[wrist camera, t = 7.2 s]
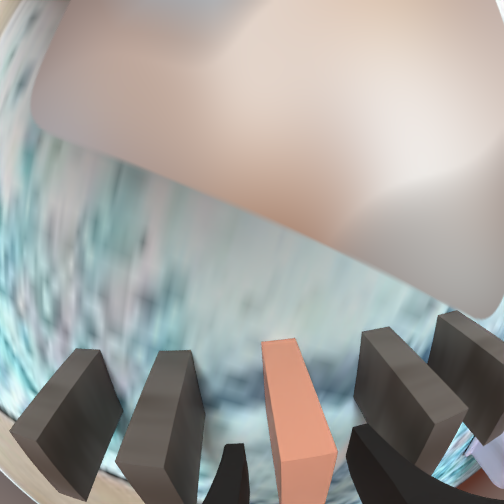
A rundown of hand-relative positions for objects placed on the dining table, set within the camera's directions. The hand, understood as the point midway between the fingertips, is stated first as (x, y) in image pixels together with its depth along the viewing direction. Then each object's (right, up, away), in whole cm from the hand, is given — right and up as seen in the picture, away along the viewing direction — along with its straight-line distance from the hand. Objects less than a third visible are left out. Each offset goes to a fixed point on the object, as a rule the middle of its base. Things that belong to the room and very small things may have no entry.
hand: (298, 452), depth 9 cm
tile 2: (+5, +2, +5) cm, 7 cm away
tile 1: (+10, +2, +5) cm, 11 cm away
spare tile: (0, +1, +5) cm, 5 cm away
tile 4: (-10, 0, +4) cm, 11 cm away
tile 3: (-5, +1, +5) cm, 7 cm away
